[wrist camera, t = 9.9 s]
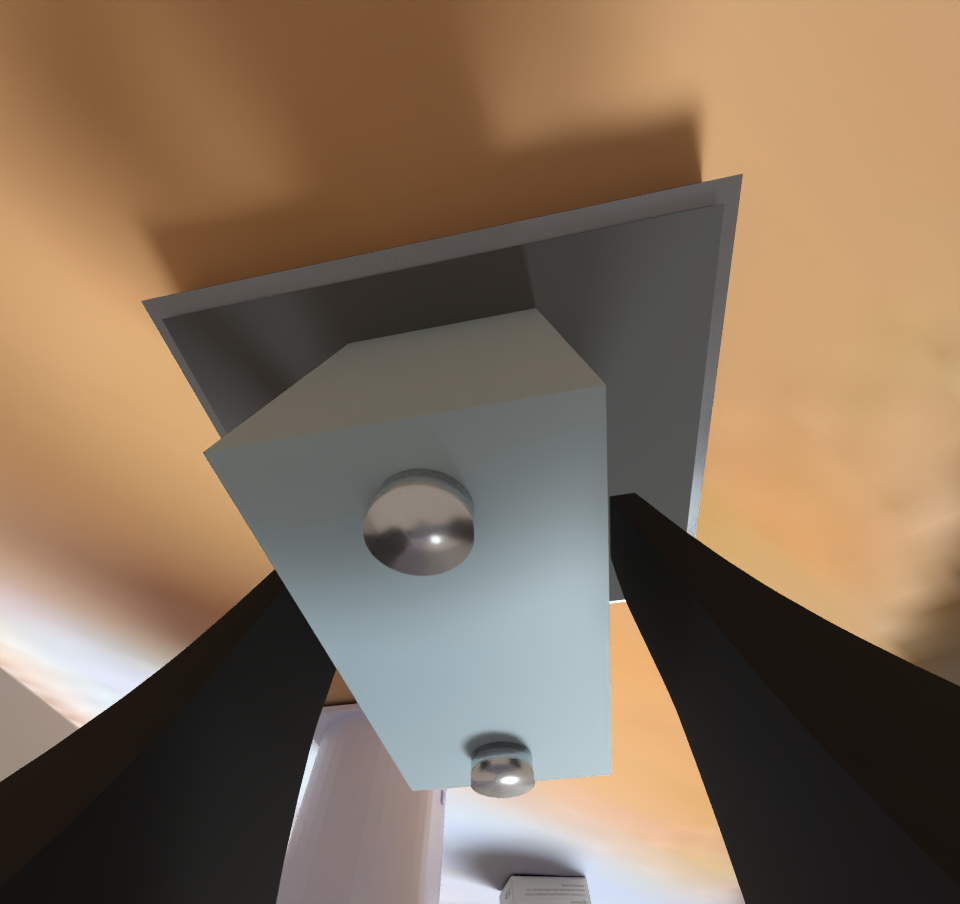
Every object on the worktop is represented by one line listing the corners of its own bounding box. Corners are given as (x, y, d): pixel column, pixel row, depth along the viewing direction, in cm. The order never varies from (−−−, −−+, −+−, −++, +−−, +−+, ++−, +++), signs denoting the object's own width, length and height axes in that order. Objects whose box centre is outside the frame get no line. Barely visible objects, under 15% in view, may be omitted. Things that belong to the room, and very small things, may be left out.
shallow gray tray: (669, 562, 17) (691, 599, 15) (348, 603, 18) (334, 643, 16) (703, 184, 10) (751, 171, 8) (186, 293, 11) (131, 302, 9)
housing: (563, 580, 14) (619, 801, 9) (436, 596, 15) (408, 817, 9) (535, 308, 10) (620, 400, 4) (349, 343, 10) (174, 473, 4)
